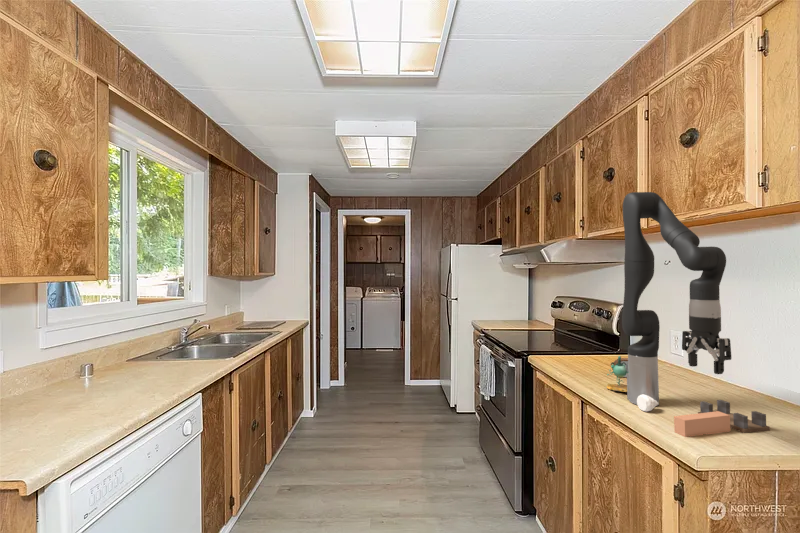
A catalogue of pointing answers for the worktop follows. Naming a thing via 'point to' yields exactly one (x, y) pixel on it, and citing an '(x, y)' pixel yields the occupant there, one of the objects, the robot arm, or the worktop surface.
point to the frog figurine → (619, 372)
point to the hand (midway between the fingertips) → (705, 369)
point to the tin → (623, 364)
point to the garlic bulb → (646, 403)
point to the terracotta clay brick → (701, 423)
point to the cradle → (738, 417)
